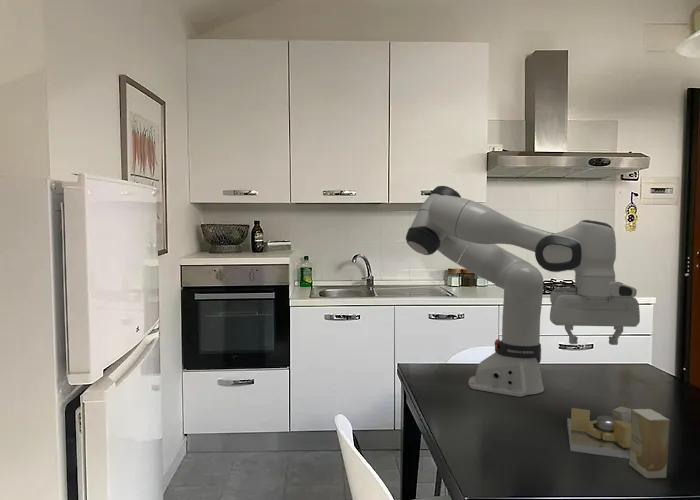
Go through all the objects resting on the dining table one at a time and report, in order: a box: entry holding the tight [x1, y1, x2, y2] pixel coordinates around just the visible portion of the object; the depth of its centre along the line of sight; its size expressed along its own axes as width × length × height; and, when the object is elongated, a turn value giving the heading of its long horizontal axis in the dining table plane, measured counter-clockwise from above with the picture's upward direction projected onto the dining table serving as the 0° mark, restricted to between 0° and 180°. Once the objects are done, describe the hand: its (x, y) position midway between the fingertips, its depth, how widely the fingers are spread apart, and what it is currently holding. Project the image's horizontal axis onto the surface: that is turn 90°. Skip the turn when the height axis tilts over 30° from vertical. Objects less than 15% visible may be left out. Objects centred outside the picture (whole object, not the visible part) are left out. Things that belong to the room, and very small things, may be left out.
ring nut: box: [570, 406, 632, 448], centre depth 127 cm, size 14×15×4 cm
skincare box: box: [628, 408, 671, 479], centre depth 111 cm, size 6×4×12 cm
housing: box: [566, 415, 630, 460], centre depth 126 cm, size 17×17×5 cm
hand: (593, 344), depth 132 cm, fingers open, 8 cm apart
